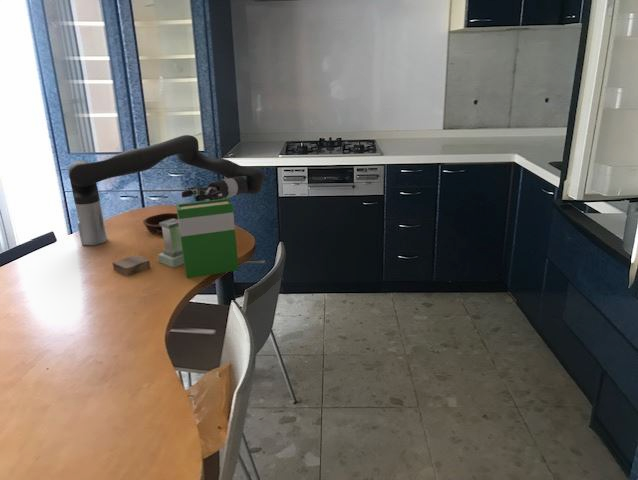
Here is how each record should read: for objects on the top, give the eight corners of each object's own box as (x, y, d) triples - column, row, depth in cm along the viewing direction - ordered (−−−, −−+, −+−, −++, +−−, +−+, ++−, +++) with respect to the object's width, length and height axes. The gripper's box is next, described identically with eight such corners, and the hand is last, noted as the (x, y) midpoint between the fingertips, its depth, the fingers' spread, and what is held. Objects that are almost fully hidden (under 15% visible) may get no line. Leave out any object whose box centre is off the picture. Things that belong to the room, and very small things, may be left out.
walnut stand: (127, 276, 174) (126, 268, 173) (113, 270, 180) (112, 262, 179) (150, 268, 180) (149, 260, 179) (136, 262, 186) (135, 254, 185)
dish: (140, 239, 210) (138, 228, 208) (149, 223, 230) (147, 212, 228) (183, 236, 212) (181, 225, 210) (188, 220, 232) (187, 209, 231)
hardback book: (235, 262, 183) (228, 198, 174) (238, 270, 176) (232, 203, 168) (185, 270, 178) (176, 204, 169) (186, 278, 171) (177, 210, 163)
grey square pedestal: (173, 257, 181) (168, 225, 177) (163, 253, 185) (159, 222, 181) (187, 252, 185) (183, 221, 181) (177, 248, 189) (173, 218, 185)
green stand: (173, 267, 180) (172, 259, 179) (158, 261, 186) (157, 254, 185) (194, 259, 186) (193, 252, 185) (179, 254, 192) (178, 247, 191)
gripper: (211, 176, 204) (176, 184, 192) (234, 182, 195) (199, 189, 183) (212, 195, 206) (178, 203, 195) (235, 200, 197) (201, 209, 186)
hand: (188, 196), depth 189 cm, fingers open, 8 cm apart
